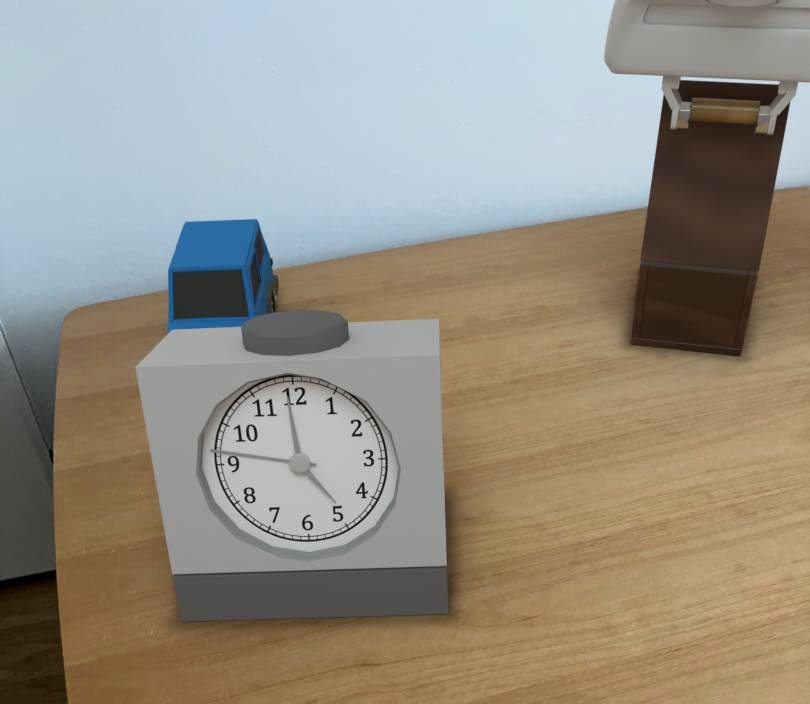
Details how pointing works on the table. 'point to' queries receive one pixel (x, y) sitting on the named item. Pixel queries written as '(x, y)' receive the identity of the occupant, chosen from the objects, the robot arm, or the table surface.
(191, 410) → the alarm clock
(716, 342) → the chest
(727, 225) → the lid
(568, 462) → the table surface
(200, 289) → the toy car
